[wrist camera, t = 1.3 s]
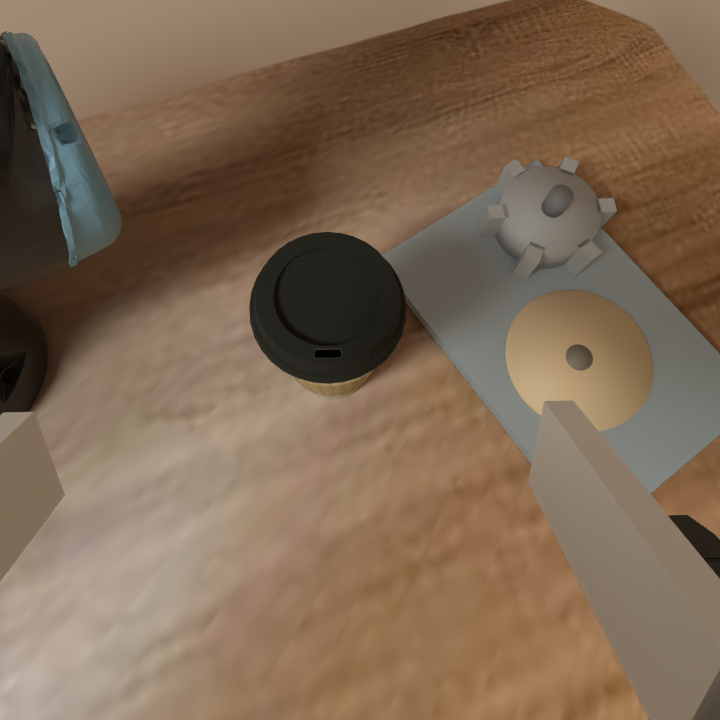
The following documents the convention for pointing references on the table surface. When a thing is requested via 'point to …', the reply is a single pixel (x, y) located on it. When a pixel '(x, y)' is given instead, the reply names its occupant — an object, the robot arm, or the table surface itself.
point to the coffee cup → (328, 312)
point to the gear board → (562, 320)
